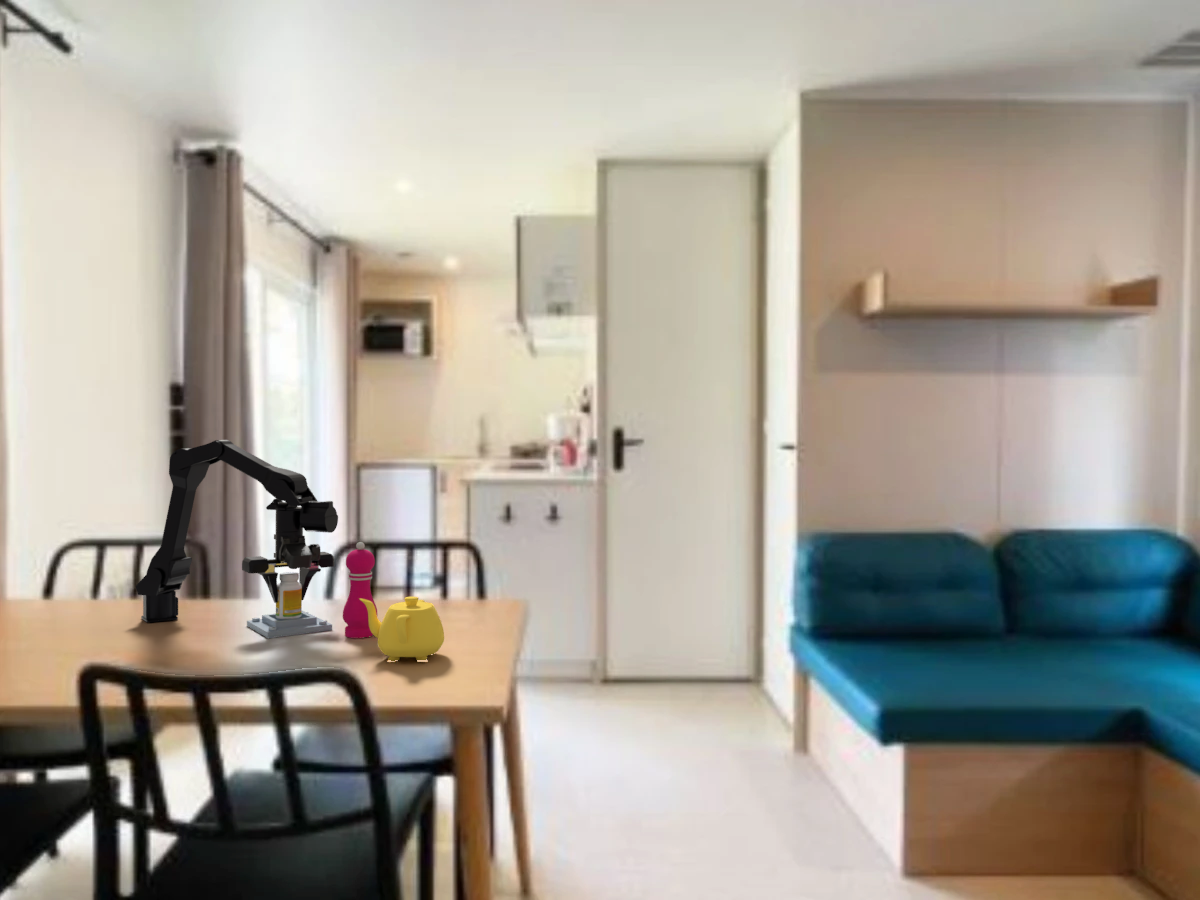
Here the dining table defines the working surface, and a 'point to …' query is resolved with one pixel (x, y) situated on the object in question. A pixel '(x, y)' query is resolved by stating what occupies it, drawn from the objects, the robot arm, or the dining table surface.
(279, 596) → the supplement bottle
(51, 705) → the dining table surface
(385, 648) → the teapot
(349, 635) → the pepper mill
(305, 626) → the base plate
